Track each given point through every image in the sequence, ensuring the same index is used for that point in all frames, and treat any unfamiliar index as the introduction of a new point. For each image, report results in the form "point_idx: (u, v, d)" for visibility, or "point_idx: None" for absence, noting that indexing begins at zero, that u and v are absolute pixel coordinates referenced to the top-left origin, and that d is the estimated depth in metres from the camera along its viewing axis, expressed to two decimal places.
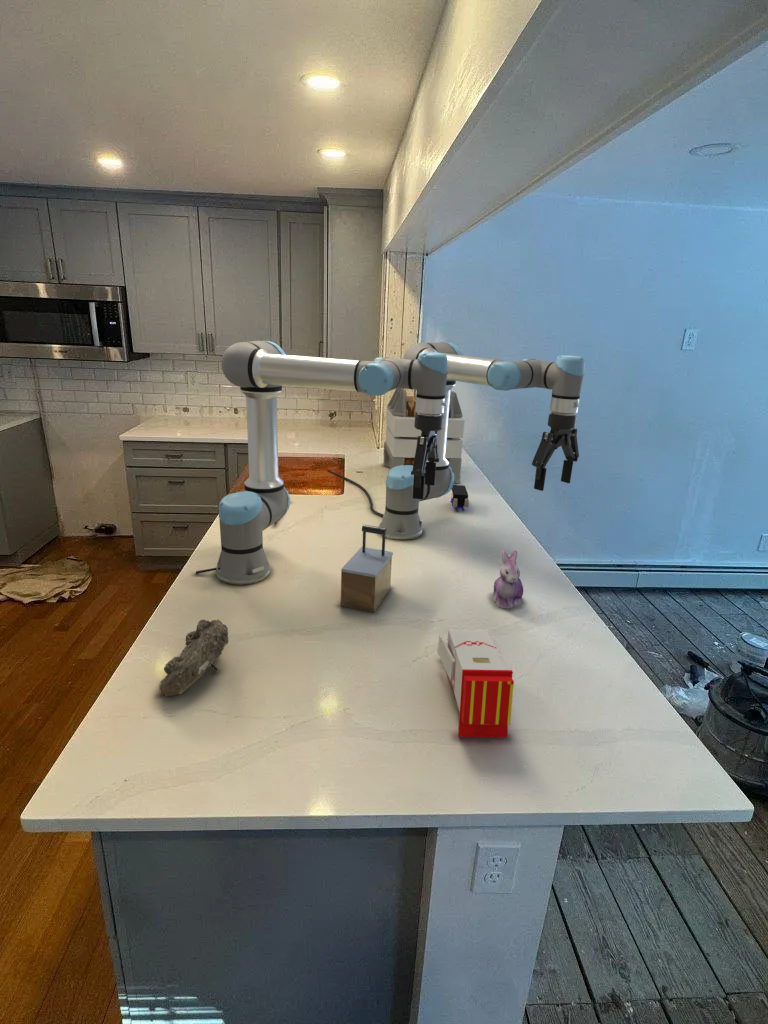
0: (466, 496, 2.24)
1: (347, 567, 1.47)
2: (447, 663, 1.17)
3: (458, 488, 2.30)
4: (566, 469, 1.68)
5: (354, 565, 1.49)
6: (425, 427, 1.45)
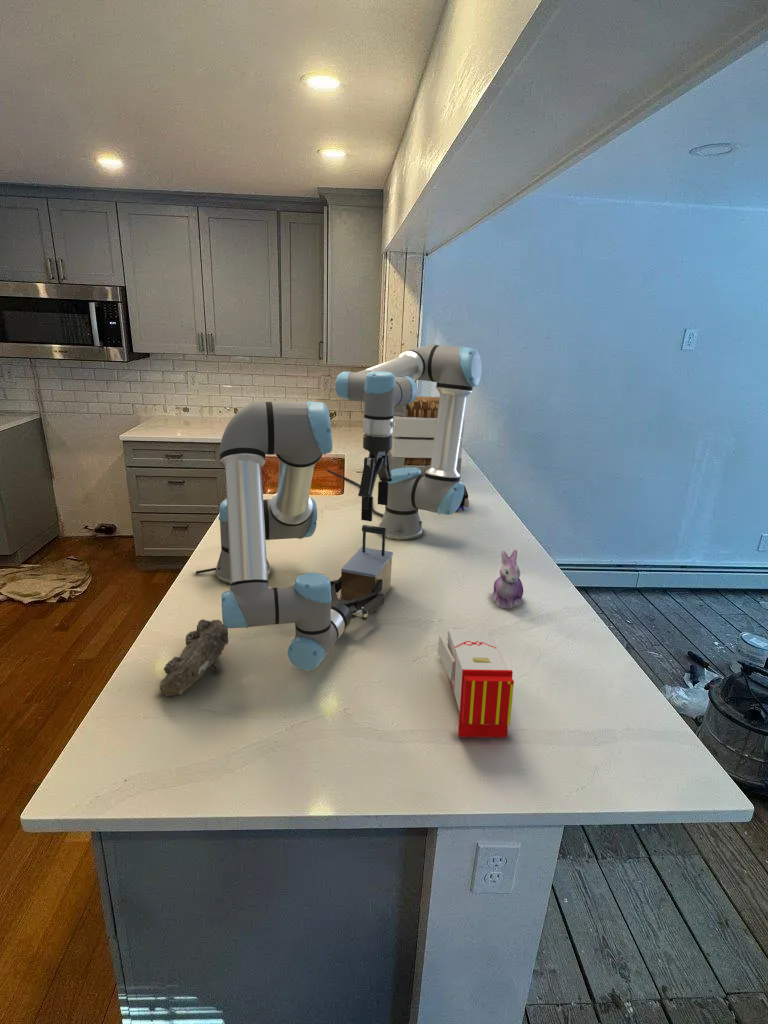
0: (466, 496, 2.24)
1: (347, 567, 1.47)
2: (447, 663, 1.17)
3: None
4: (382, 491, 1.57)
5: (354, 565, 1.49)
6: None
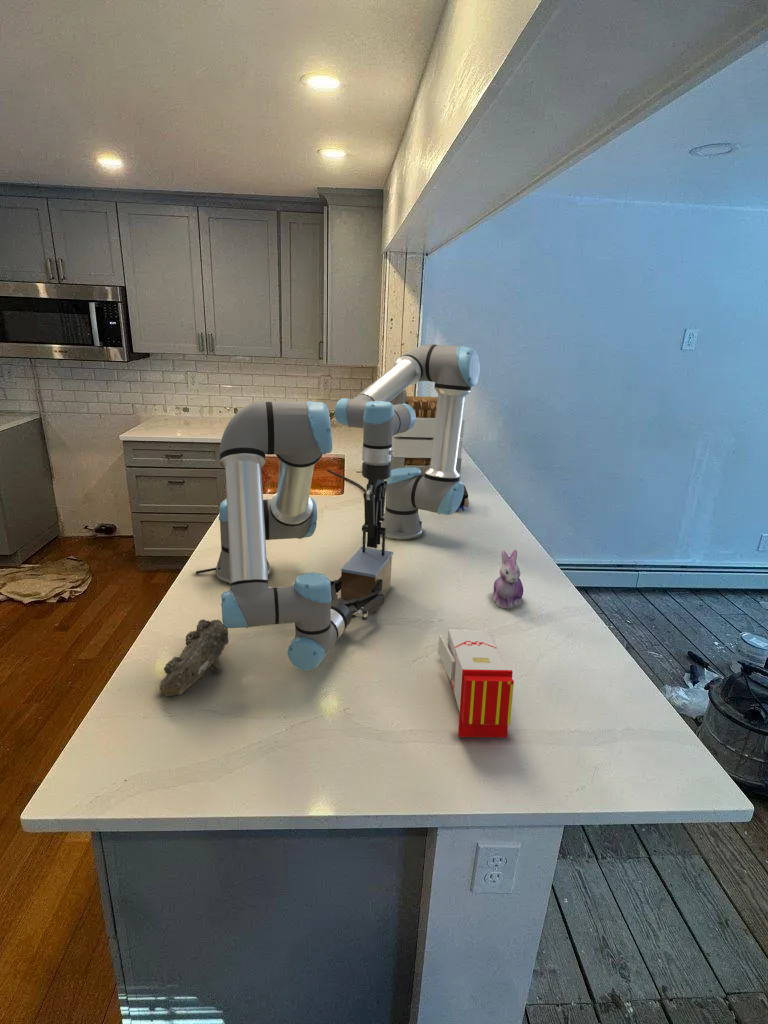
0: (466, 496, 2.24)
1: (347, 567, 1.47)
2: (447, 663, 1.17)
3: None
4: None
5: (354, 565, 1.49)
6: None
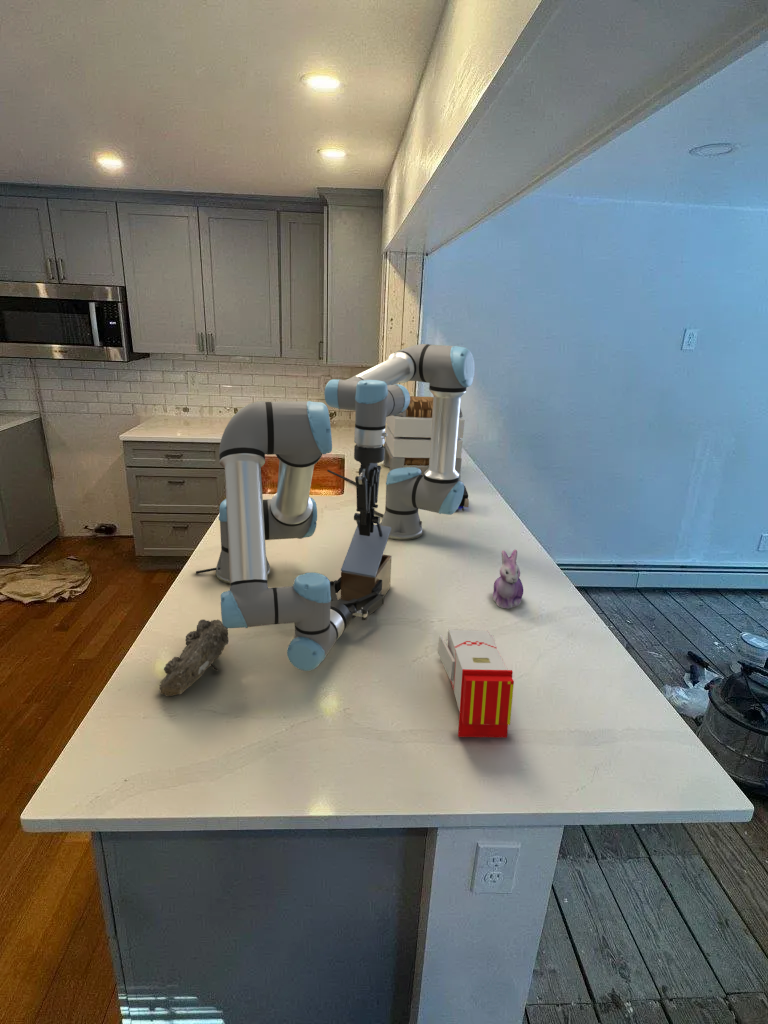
0: (466, 496, 2.24)
1: (346, 566, 1.46)
2: (447, 663, 1.17)
3: None
4: None
5: (353, 561, 1.47)
6: None
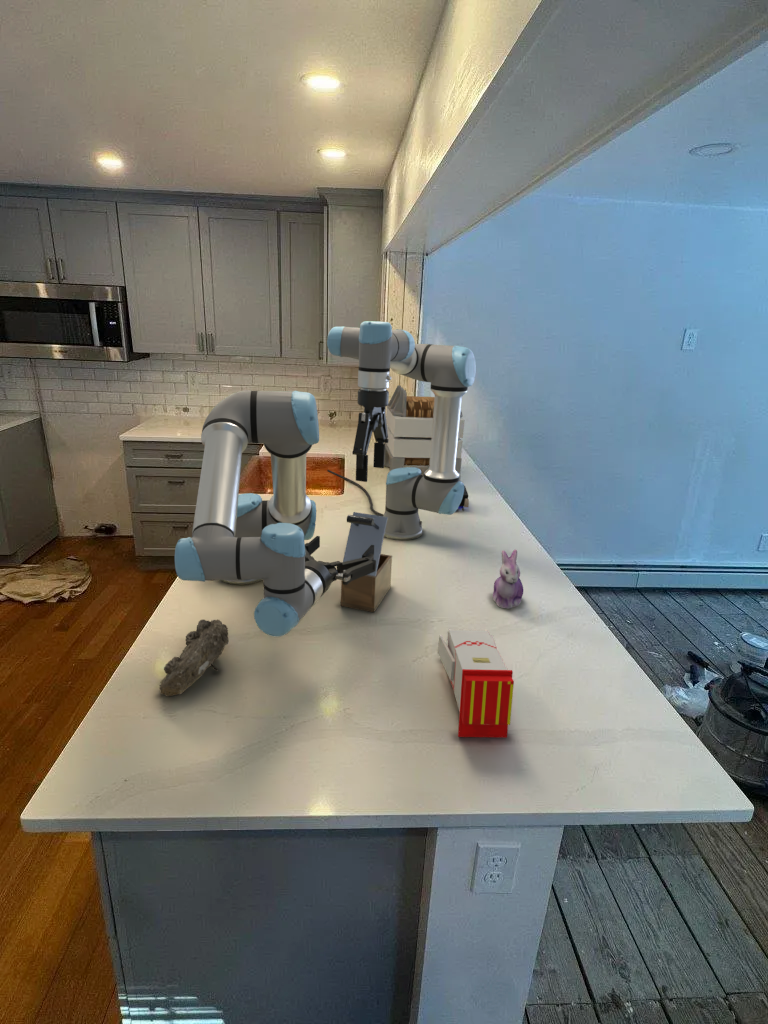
0: (466, 496, 2.24)
1: None
2: (447, 663, 1.17)
3: None
4: (378, 453, 1.48)
5: (352, 559, 1.46)
6: None
